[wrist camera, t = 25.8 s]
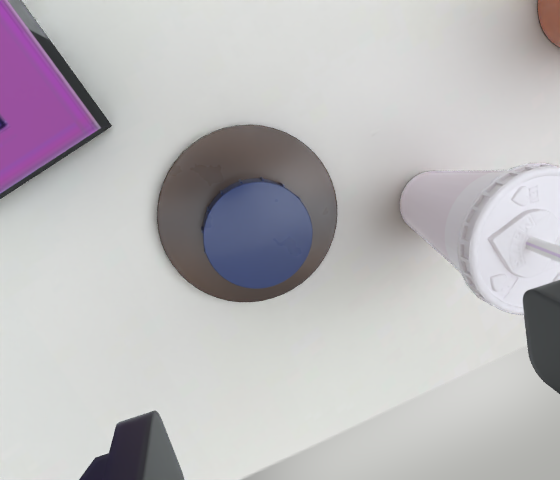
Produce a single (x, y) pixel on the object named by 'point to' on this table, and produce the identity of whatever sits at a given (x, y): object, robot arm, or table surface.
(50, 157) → the book
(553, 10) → the jar
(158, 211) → the coaster
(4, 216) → the table surface
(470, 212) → the smoothie
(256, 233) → the jar lid
